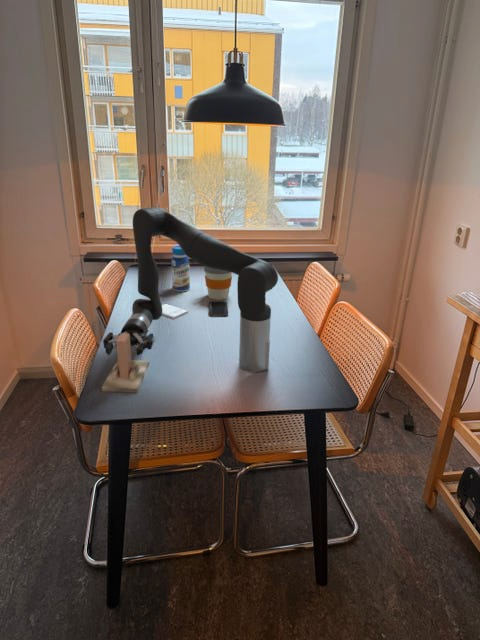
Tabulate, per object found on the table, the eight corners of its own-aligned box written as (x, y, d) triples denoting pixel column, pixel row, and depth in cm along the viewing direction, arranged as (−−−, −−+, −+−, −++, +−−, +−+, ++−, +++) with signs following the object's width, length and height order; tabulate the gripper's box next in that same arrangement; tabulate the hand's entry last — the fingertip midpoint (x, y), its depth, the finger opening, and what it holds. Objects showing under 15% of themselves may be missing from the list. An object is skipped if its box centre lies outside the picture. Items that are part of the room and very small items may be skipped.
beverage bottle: (188, 285, 205) (187, 244, 197) (191, 291, 197) (190, 248, 189) (170, 286, 202) (168, 245, 194) (173, 292, 195) (172, 250, 187)
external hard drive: (166, 307, 181) (188, 314, 174) (152, 312, 174) (174, 320, 168) (166, 303, 180) (188, 310, 173) (151, 309, 174) (174, 316, 167)
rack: (117, 363, 135) (116, 354, 133) (149, 364, 135) (148, 355, 133) (102, 391, 120) (100, 381, 119) (137, 392, 120) (136, 382, 119)
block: (124, 369, 129) (120, 333, 124) (132, 369, 129) (129, 333, 124) (120, 377, 125) (116, 341, 120) (128, 378, 125) (125, 341, 120)
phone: (208, 315, 170) (209, 301, 184) (208, 317, 171) (209, 303, 184) (228, 314, 171) (227, 301, 184) (228, 317, 171) (227, 303, 185)
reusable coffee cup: (207, 302, 185) (207, 268, 179) (202, 292, 196) (201, 260, 190) (235, 299, 188) (236, 267, 182) (228, 290, 199) (228, 259, 193)
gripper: (113, 317, 135) (96, 340, 121) (157, 318, 135) (146, 341, 121) (115, 338, 139) (99, 363, 124) (159, 339, 138) (148, 364, 124)
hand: (122, 352), depth 122 cm, fingers open, 8 cm apart
